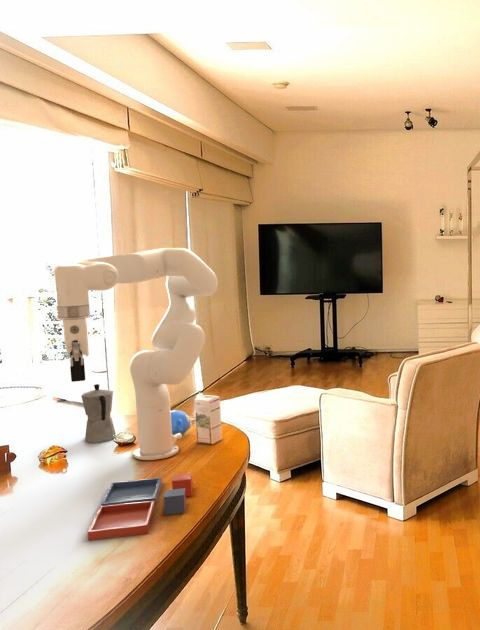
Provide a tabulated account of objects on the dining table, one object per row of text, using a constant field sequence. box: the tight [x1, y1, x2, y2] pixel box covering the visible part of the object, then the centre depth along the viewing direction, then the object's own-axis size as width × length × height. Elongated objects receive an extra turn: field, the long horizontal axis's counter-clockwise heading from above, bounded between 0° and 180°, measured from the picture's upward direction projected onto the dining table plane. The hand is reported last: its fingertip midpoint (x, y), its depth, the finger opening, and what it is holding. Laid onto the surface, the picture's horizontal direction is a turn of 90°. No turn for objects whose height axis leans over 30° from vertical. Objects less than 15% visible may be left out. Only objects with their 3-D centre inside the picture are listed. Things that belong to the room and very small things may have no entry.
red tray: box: [87, 500, 156, 541], centre depth 156 cm, size 14×12×2 cm
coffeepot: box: [80, 383, 117, 444], centre depth 217 cm, size 15×9×18 cm, turn 37°
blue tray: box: [100, 477, 163, 507], centre depth 171 cm, size 14×12×2 cm
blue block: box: [163, 488, 187, 516], centre depth 163 cm, size 4×4×4 cm
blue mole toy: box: [171, 409, 196, 436], centre depth 222 cm, size 12×12×8 cm
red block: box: [171, 472, 194, 498], centre depth 173 cm, size 4×4×4 cm
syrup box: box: [194, 394, 223, 445], centre depth 214 cm, size 6×6×14 cm
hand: (78, 377), depth 176 cm, fingers open, 9 cm apart
